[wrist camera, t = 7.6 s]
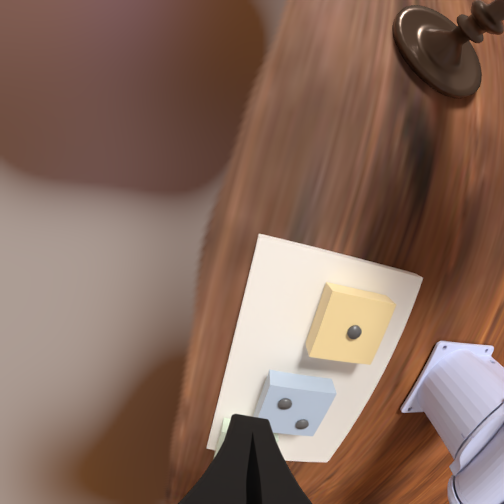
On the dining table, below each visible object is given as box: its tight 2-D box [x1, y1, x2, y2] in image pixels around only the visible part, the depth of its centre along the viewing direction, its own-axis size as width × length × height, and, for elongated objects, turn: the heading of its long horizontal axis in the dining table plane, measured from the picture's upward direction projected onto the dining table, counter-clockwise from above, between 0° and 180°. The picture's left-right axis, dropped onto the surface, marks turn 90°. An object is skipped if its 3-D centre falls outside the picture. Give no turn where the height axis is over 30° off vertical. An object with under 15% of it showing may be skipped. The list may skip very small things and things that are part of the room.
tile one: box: [305, 282, 396, 365], centre depth 17 cm, size 4×4×2 cm
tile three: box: [214, 418, 279, 458], centre depth 19 cm, size 4×4×2 cm
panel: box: [207, 234, 423, 462], centre depth 19 cm, size 12×20×2 cm, turn 167°
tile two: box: [254, 370, 337, 436], centre depth 17 cm, size 4×4×2 cm
